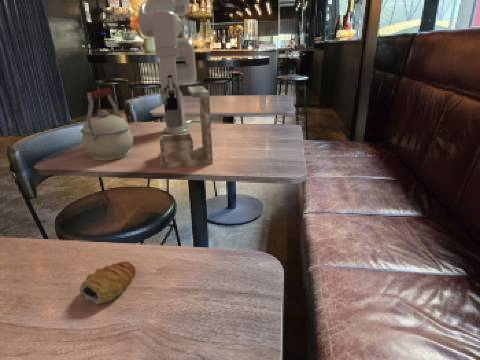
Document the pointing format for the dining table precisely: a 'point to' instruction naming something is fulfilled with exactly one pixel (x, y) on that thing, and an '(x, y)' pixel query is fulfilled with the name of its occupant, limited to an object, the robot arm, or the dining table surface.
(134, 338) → the dining table surface
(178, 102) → the lotion bottle
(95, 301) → the pastry
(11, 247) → the dining table surface
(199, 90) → the bottle holder
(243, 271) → the dining table surface
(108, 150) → the kettle
